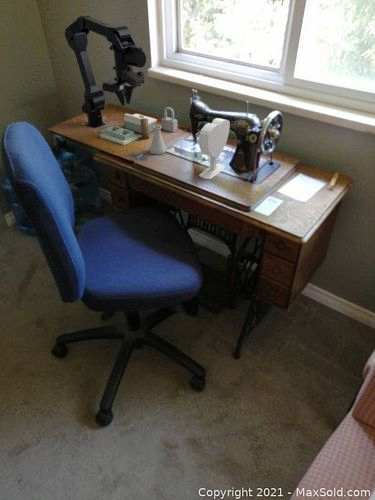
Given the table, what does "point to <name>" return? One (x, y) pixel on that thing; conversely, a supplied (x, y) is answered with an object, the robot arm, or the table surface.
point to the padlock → (169, 121)
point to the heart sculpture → (213, 144)
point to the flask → (157, 142)
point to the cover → (138, 118)
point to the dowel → (144, 129)
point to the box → (138, 126)
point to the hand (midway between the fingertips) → (125, 104)
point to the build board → (119, 135)
